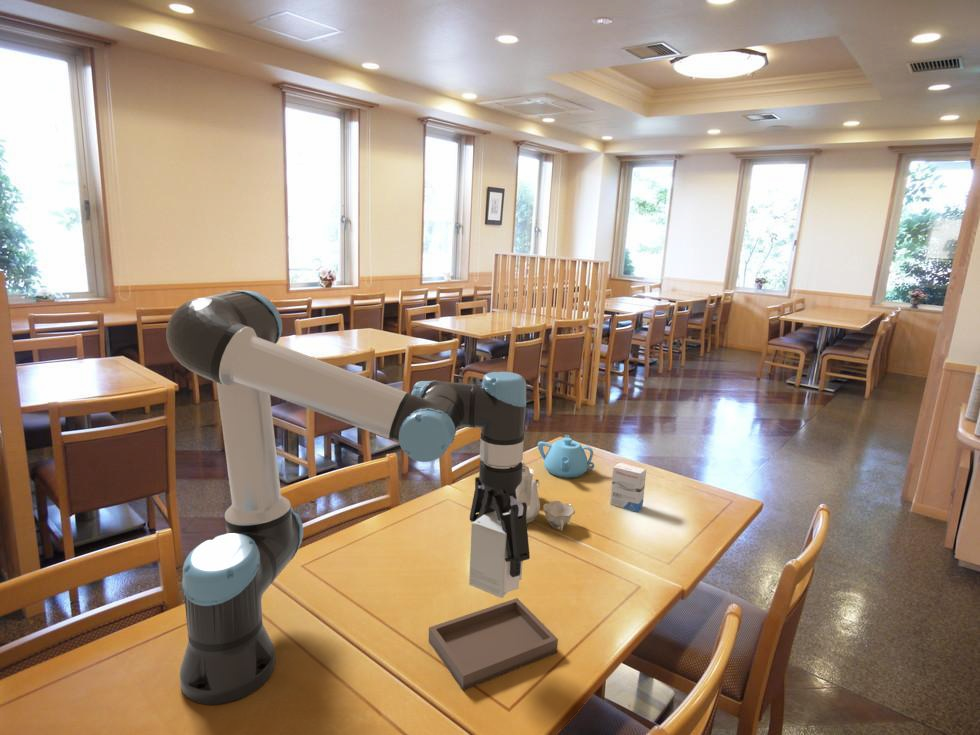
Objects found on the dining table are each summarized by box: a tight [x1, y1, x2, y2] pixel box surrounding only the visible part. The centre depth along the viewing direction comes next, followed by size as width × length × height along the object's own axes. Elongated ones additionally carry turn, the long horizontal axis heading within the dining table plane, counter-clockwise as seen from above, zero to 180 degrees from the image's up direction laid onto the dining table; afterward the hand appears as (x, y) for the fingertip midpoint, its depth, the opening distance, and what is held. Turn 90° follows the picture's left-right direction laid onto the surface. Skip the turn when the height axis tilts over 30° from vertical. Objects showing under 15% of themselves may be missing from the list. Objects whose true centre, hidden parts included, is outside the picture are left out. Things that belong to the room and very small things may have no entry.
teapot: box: [537, 434, 595, 479], centre depth 193 cm, size 15×17×11 cm
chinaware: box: [507, 461, 576, 531], centre depth 163 cm, size 28×17×17 cm, turn 34°
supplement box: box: [468, 511, 524, 599], centre depth 107 cm, size 7×7×13 cm
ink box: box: [609, 462, 647, 513], centre depth 170 cm, size 8×5×12 cm, turn 58°
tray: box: [428, 597, 559, 691], centre depth 111 cm, size 20×14×3 cm
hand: (496, 574), depth 108 cm, fingers closed on supplement box, 9 cm apart
